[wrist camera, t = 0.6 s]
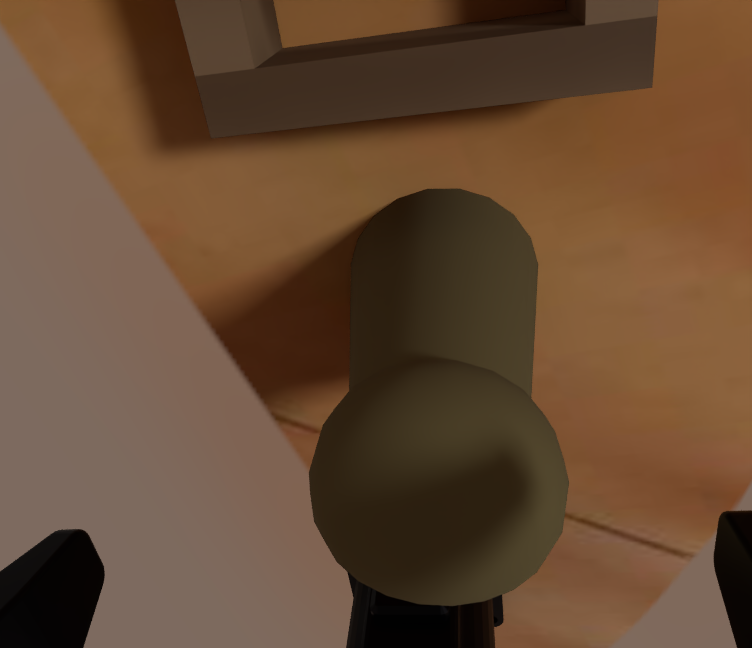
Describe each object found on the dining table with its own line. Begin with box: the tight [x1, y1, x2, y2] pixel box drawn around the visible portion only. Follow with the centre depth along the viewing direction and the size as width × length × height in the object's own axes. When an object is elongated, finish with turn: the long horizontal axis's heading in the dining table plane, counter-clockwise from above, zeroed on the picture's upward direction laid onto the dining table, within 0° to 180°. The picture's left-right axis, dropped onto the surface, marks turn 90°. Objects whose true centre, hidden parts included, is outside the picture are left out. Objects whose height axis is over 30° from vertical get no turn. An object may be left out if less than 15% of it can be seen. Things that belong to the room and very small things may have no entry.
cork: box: [309, 189, 569, 606], centre depth 17 cm, size 6×6×11 cm
